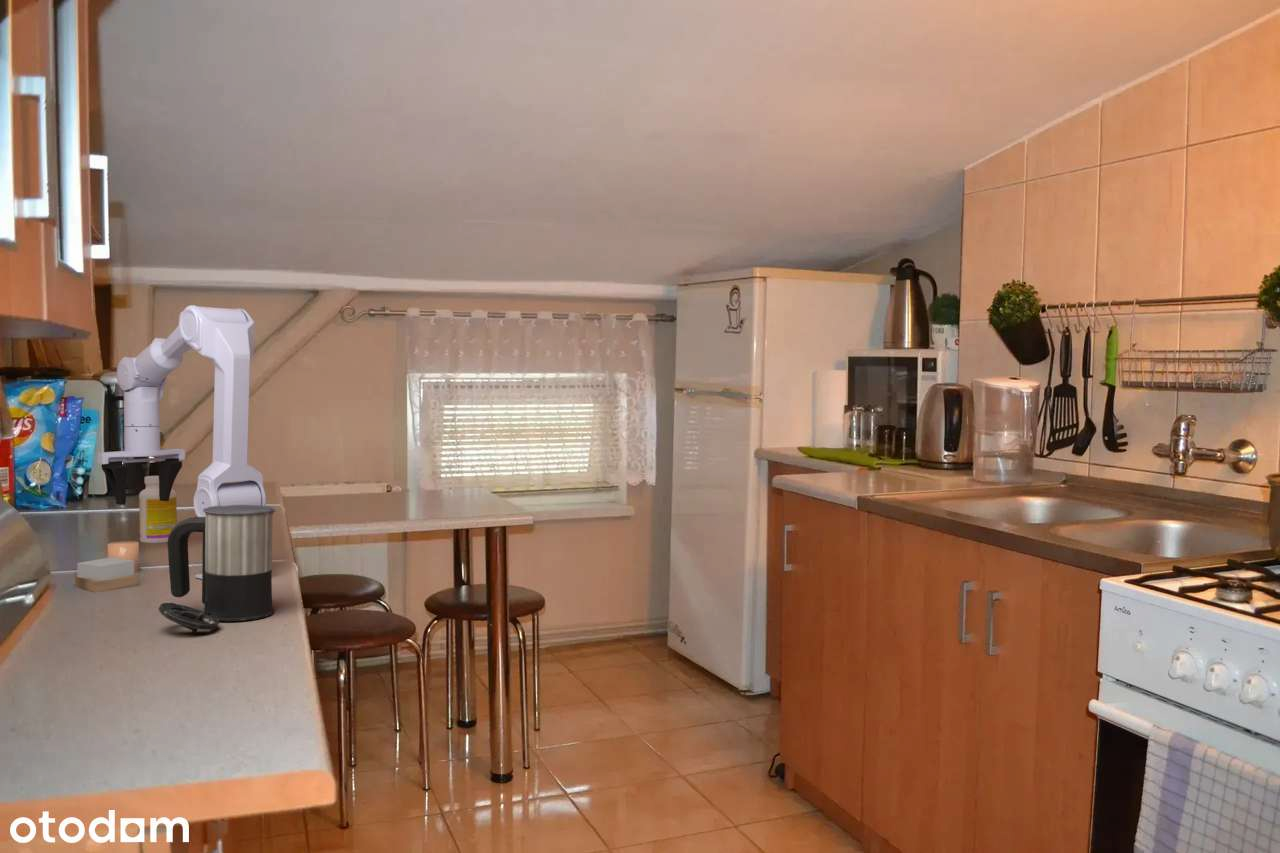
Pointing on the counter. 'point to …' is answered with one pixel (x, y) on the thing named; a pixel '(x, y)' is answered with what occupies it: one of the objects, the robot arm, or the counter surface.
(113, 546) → the terracotta cylinder
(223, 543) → the milk frother
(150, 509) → the supplement bottle
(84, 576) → the slab upper
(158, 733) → the counter surface
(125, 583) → the slab lower
